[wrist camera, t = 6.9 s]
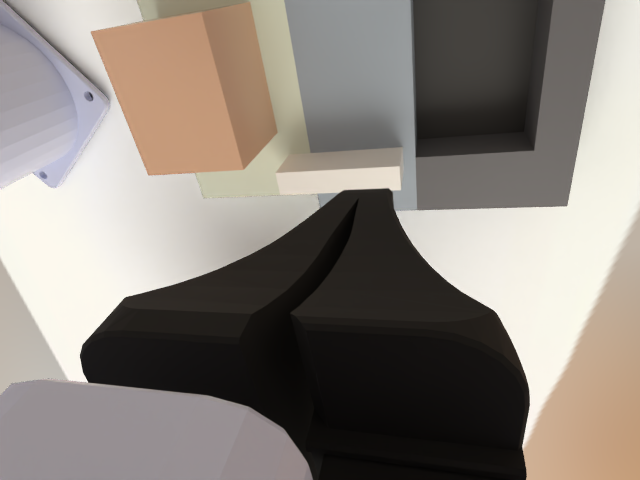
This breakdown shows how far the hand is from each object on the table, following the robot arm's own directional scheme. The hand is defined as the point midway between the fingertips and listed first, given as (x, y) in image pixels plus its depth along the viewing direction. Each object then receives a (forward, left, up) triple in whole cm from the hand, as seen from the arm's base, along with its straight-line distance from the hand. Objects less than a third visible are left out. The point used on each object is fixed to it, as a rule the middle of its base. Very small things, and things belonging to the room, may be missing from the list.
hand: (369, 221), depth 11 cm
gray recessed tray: (-2, +3, -9) cm, 10 cm away
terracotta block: (-6, -4, -7) cm, 10 cm away
